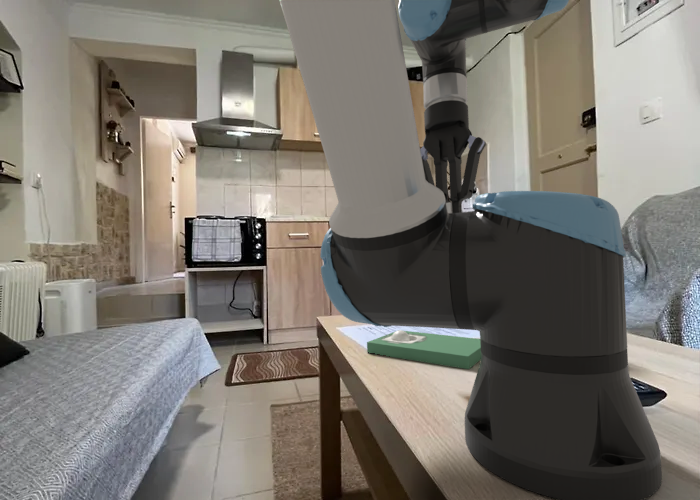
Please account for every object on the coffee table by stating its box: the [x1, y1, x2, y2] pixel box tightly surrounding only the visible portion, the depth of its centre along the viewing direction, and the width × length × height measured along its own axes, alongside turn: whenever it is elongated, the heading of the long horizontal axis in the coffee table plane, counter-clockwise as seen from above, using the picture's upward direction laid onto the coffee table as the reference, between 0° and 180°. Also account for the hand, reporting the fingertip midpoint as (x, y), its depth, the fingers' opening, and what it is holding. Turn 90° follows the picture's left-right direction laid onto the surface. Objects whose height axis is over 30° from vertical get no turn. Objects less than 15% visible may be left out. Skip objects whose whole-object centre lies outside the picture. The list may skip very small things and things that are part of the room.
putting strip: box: [366, 330, 481, 370], centre depth 67 cm, size 12×19×2 cm, turn 53°
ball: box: [391, 329, 410, 341], centre depth 70 cm, size 4×4×4 cm
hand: (450, 240), depth 63 cm, fingers closed
